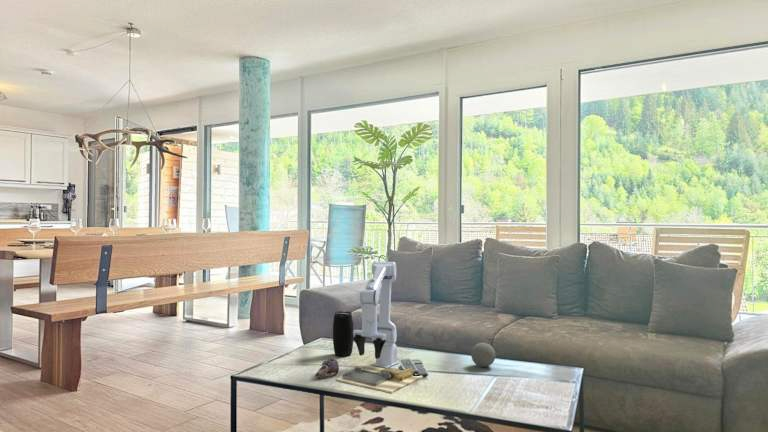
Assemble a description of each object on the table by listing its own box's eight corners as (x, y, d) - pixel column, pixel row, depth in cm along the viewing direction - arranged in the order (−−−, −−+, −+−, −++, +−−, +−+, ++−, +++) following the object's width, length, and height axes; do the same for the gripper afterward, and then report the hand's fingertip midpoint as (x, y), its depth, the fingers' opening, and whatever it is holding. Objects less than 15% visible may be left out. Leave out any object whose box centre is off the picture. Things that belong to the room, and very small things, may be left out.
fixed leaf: (356, 371, 210) (356, 365, 210) (391, 379, 200) (391, 372, 200) (341, 378, 202) (341, 371, 202) (377, 386, 192) (377, 379, 192)
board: (369, 367, 219) (369, 365, 219) (423, 377, 204) (423, 376, 204) (336, 380, 201) (336, 379, 201) (392, 393, 186) (392, 391, 186)
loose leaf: (388, 370, 212) (388, 362, 212) (413, 375, 205) (413, 367, 205) (376, 375, 205) (376, 367, 205) (402, 380, 198) (402, 372, 198)
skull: (322, 381, 200) (322, 365, 200) (308, 378, 205) (308, 362, 205) (342, 374, 210) (342, 358, 210) (328, 370, 214) (328, 355, 214)
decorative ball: (500, 367, 218) (500, 343, 218) (483, 371, 212) (483, 347, 212) (483, 362, 226) (483, 339, 226) (466, 365, 220) (466, 342, 220)
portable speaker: (330, 353, 241) (330, 311, 241) (350, 351, 244) (349, 309, 244) (336, 358, 233) (336, 314, 233) (356, 356, 236) (355, 312, 236)
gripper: (348, 320, 200) (348, 355, 200) (378, 324, 192) (378, 361, 192) (359, 317, 206) (359, 351, 206) (389, 321, 197) (389, 357, 197)
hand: (369, 356), depth 199 cm, fingers open, 7 cm apart
